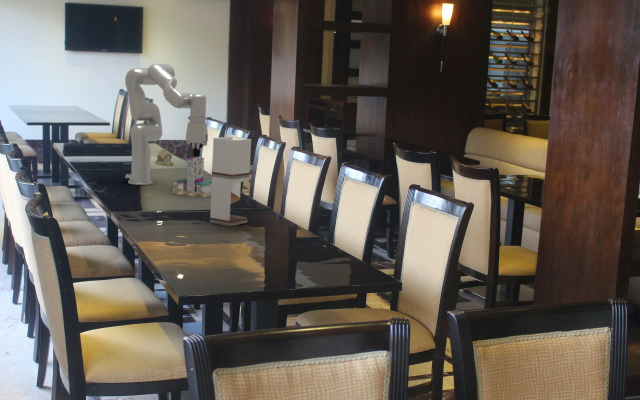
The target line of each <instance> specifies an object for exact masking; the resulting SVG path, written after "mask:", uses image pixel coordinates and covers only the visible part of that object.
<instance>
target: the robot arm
mask: <svg viewBox="0 0 640 400" xmlns="http://www.w3.org/2000/svg"><path fill="white" fill-rule="evenodd" d="M175 76H176V72H175V69H174V68H173V66H172V65H170V64H165V63H164V64H162V63H154V64H151V65H150V66H148V67H146V68H145V67H135V68H134V67H133V68H131V69H129V70H128V71H127V72H126V75H125V79H124V82H125V88H126V92H127V96H128V101H129V102H128V103H129V110H130V115H131V119H132V120H134V121H135V122H139V121H140V122H141V123H135V124H134V125H132V126H131V128H130V132H129V133H130V134H129V135H130V140H131V173H126V174H125V176H124V178H125V179H129V180H128V184H129V185H134V186H135V185H137V186H147V185H153V183H154V182H153V181H152V180H151V147H150V145H149V143H148V142H156V141H159V140H161V138H162V136H163V125H162V117H161V111H160V108H159V107H158V105H157V104H156V103H154V102H148V101H147V99H146V94H145V91H144V89H143V87H142V86H141V85H143V86H154V85H155V86H156V85H157V86H158V87H159V88H161V90H162V93H163V96H164V99H165V101H167V103H169V104H170V105H171V106H172V107H173V108H175V109H189V116H187V120H189V121H188V123H187V126H186V132H185V141H186V145H189V146H191V148H192V149H193V152H192V153H193V154H192V156H193V158H194V157H200V155H201V149H202V148H203V147H206V146H208V140H209V139H208V138H209V133H208V131H209V130H208V125H207V122H206V116H207V115H206V112H207V107H206V106H207V96H206V95H204V94H197V93H192V92H178V91H177V90H176V87H177V84H178V80H177V79H176V77H175ZM144 121H145V123H144Z"/></svg>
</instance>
